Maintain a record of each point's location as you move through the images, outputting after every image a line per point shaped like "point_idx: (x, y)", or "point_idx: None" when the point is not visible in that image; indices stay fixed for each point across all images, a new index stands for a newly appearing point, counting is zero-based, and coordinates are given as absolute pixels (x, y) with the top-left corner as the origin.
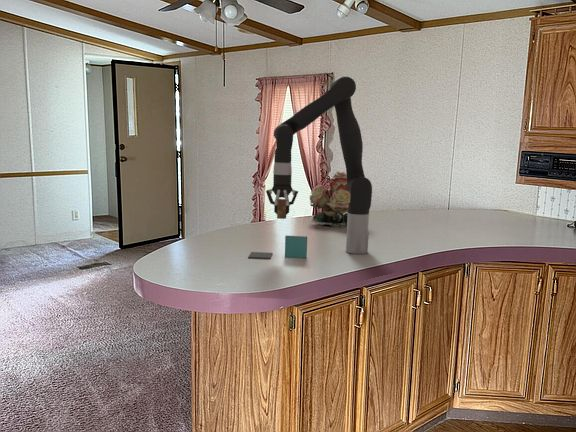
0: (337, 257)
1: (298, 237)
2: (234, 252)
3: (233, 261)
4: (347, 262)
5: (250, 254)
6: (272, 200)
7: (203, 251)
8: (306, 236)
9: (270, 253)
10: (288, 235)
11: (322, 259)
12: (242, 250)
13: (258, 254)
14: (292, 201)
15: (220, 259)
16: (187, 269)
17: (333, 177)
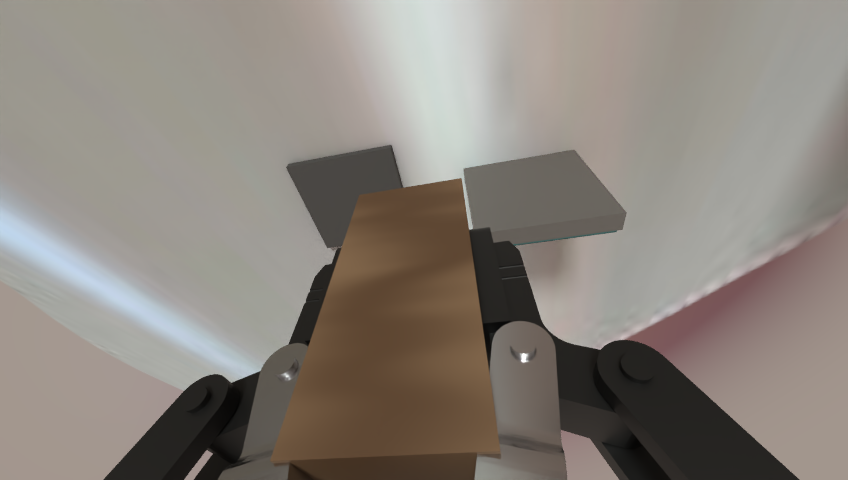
0: (765, 87)
1: (560, 238)
2: (210, 174)
3: (308, 290)
4: (771, 178)
5: (312, 213)
6: (209, 440)
7: (88, 203)
8: (618, 222)
9: (386, 166)
10: (494, 231)
11: (654, 162)
12: (207, 117)
13: (343, 202)
14: (633, 458)
15: (253, 282)
16: (260, 367)
17: None
